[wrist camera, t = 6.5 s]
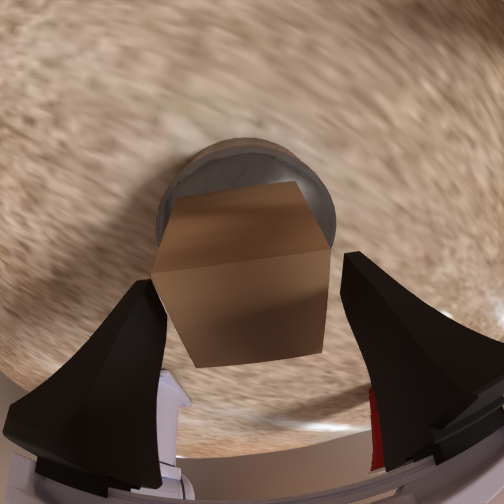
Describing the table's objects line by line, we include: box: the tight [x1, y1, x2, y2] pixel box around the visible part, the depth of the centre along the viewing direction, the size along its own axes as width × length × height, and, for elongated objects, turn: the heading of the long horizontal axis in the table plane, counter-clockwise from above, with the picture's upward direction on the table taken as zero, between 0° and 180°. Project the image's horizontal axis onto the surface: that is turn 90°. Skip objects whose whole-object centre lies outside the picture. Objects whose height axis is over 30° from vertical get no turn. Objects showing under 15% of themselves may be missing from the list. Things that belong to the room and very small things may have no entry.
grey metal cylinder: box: [156, 138, 336, 248], centre depth 14 cm, size 8×8×3 cm
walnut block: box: [151, 181, 331, 368], centre depth 11 cm, size 5×5×5 cm
